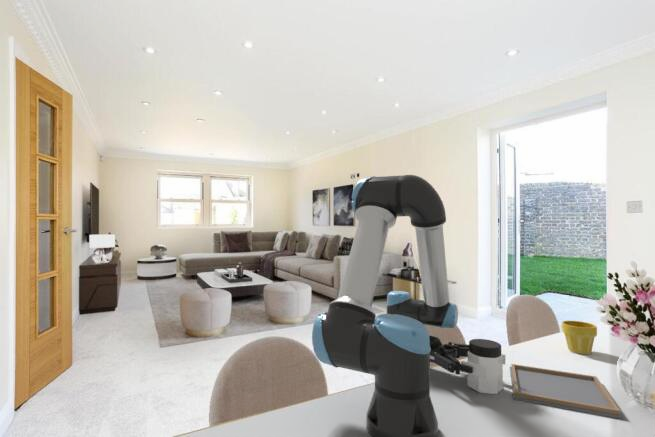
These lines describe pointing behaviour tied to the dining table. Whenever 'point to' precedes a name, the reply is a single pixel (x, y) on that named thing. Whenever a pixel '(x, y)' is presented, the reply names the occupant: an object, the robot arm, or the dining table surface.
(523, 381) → the square tray
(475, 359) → the jar
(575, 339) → the plant pot
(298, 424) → the dining table surface
